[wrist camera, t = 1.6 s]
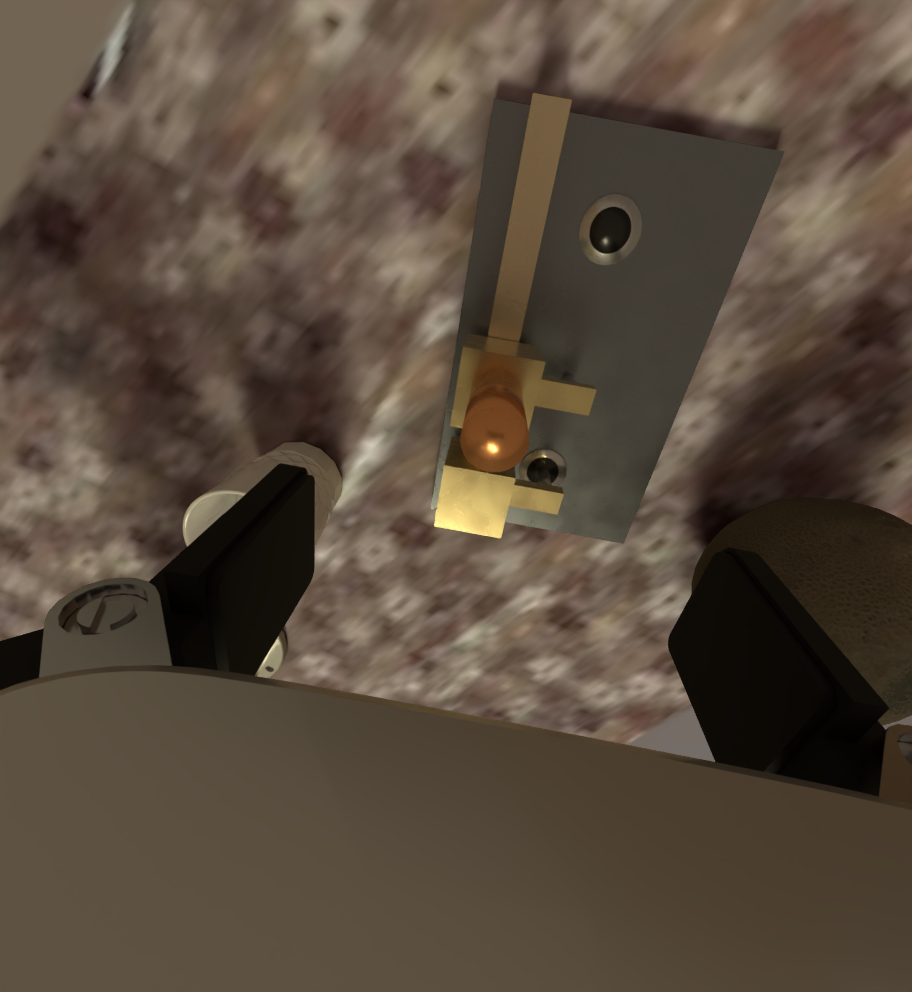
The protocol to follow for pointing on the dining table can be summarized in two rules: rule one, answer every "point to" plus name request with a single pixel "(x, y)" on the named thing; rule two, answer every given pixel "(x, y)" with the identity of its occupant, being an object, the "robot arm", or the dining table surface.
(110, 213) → the dining table surface
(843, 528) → the dimpled olive sphere
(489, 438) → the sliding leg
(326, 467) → the white cup
